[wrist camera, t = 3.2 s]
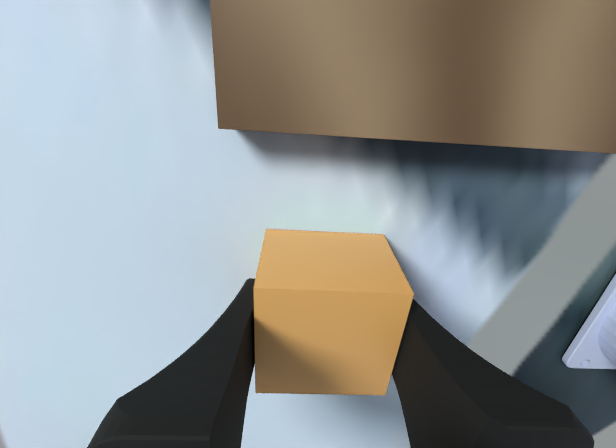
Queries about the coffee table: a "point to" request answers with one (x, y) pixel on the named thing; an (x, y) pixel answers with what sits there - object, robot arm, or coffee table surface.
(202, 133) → the coffee table surface
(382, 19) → the walnut board
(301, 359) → the tan rounded cube
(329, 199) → the coffee table surface
